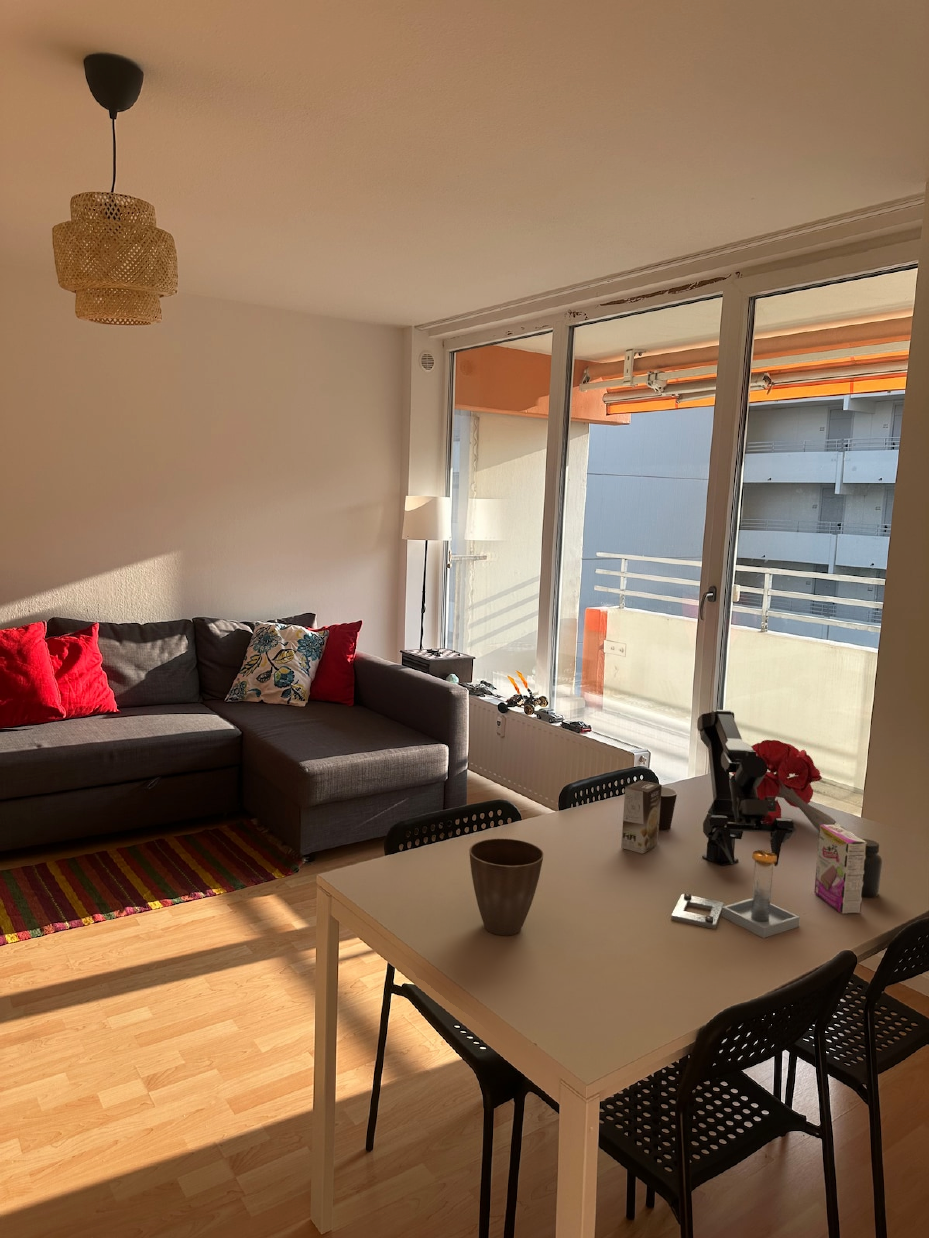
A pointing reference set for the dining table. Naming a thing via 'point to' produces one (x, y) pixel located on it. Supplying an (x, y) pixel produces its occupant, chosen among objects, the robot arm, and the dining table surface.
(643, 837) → the coffee box
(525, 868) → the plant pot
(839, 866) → the candy bar box
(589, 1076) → the dining table surface
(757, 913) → the orange capped tube
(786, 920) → the tray
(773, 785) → the bouquet
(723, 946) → the dining table surface
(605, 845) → the dining table surface
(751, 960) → the dining table surface
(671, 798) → the coffee mug
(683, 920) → the plate
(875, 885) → the supplement bottle
